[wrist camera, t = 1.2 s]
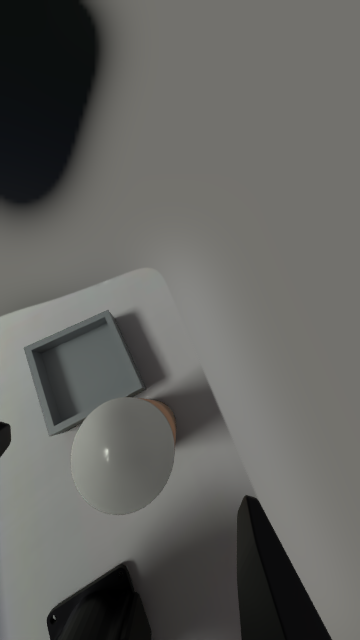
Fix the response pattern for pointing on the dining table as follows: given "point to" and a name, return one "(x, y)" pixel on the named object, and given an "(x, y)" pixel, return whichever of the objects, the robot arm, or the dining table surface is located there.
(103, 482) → the brown cylinder grey top
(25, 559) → the dining table surface
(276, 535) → the robot arm
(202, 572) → the dining table surface
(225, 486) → the dining table surface
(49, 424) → the tray
